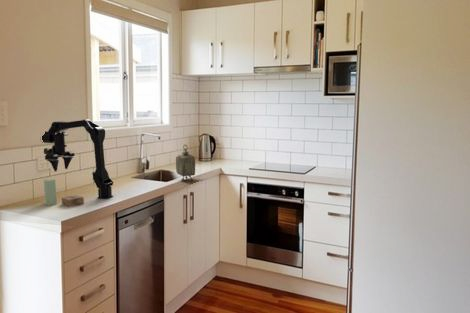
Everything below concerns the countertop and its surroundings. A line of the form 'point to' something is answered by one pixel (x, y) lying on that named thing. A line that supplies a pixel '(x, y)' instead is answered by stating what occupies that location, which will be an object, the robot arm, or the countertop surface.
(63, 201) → the walnut block
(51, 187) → the sage green block
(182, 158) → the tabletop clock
